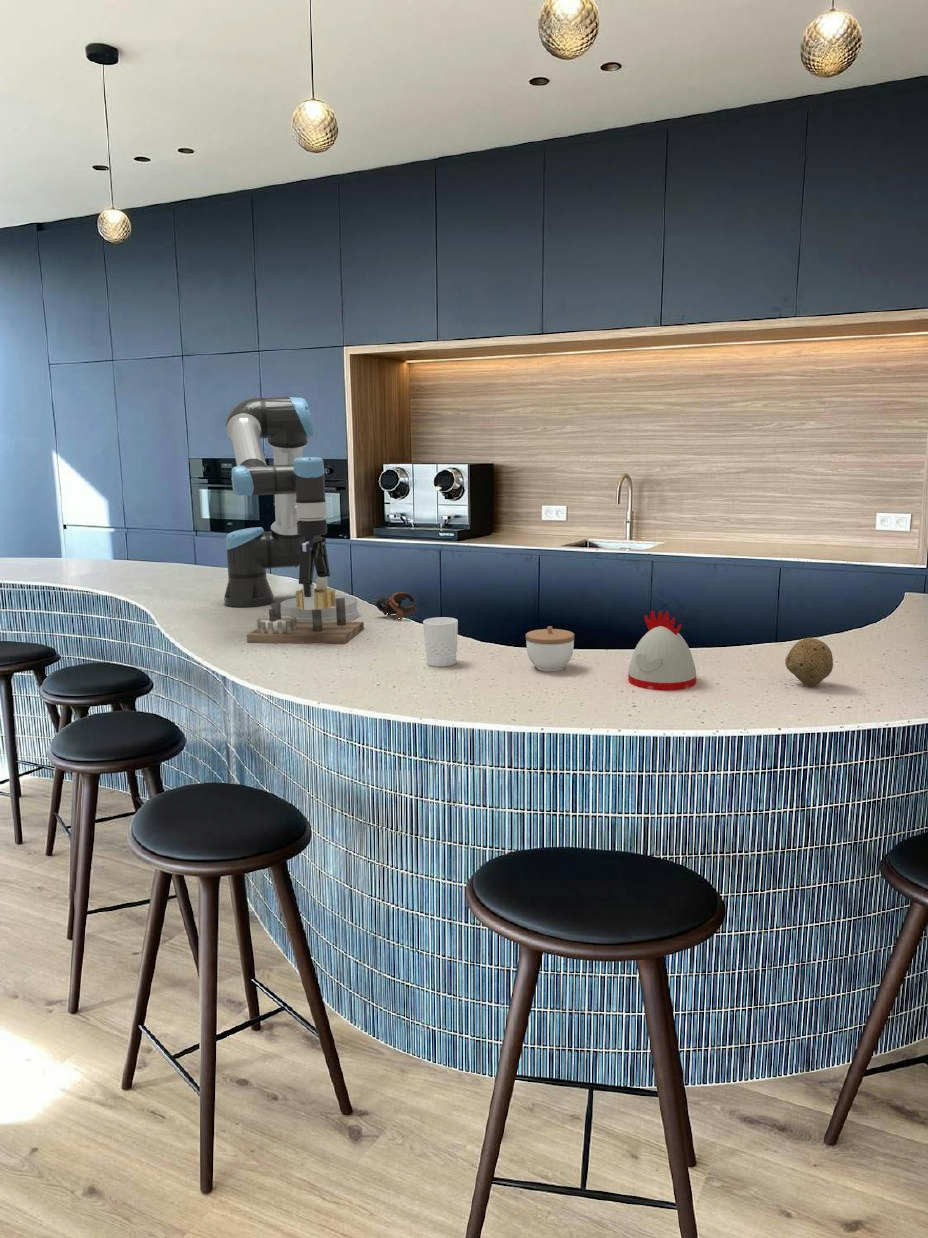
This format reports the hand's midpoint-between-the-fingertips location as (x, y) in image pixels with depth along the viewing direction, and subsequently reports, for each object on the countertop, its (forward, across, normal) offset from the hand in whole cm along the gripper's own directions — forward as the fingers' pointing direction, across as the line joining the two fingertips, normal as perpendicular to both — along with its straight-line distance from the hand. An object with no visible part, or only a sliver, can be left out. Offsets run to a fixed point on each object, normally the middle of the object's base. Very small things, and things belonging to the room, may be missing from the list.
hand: (316, 605), depth 238 cm
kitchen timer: (+9, +34, +86) cm, 93 cm away
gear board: (+9, -3, -4) cm, 10 cm away
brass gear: (0, 0, 0) cm, 0 cm away
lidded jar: (+9, +25, +62) cm, 67 cm away
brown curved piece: (+9, -28, +14) cm, 33 cm away
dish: (+9, -26, -8) cm, 29 cm away
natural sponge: (+9, +35, +115) cm, 121 cm away
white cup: (+9, +23, +37) cm, 44 cm away
